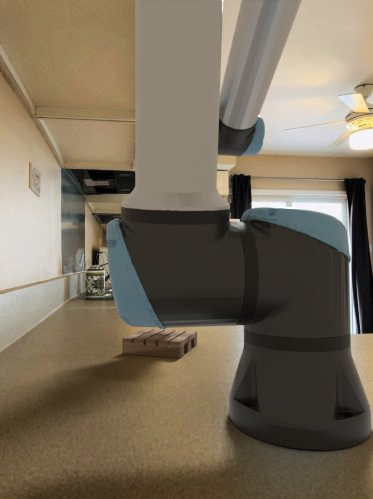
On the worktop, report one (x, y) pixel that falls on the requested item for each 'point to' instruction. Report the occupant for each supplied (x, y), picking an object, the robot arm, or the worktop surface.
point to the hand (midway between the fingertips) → (161, 303)
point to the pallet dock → (159, 342)
